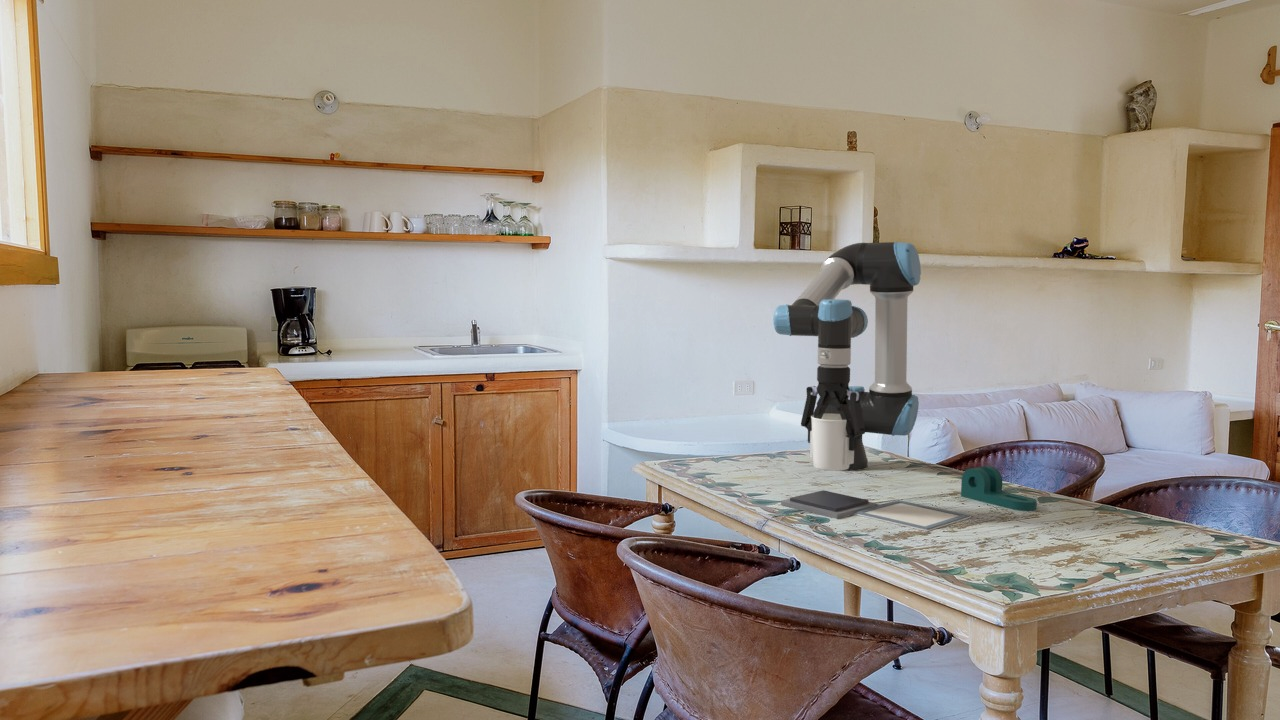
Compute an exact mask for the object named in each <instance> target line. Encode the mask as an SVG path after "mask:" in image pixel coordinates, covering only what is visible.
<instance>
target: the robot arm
mask: <svg viewBox="0 0 1280 720" xmlns="http://www.w3.org/2000/svg"><path fill="white" fill-rule="evenodd" d="M820 265H821V266H820V269H819V273H818V274H817V275H816V276H815V277H814V278H813V279H812V281H811V282H810V284H809V285H807V287H806V288H805V289H804V291H803V292H801V294H800V295H799V296H798V297H797V298H796V300H795V301H794V302H793V303H792V304H782V305H780V304H779V305H777V307H776V308H775V310H774V314H773V328H774V330H775V332H776V333H777V334H778V335H782V336H790V337H791V336H796V337H797V336H798V337H803V336H804V337H817V338H818V340H817V343H818V344H817V364H818V366H817V368H816V370H817V371H816V379H817V380H816V381H817V382H818V383H817V386H815V385H812V386H807V387H806V399H805V403H804V408H803V413H802V418H801V421H800V426H801V427H804V428H805V429H807V443H808V444H809V458H810V459H813V451H812V423H811V416H812V415H814V418H817V419H821V418H822V416H823V414H827V413H828V414H840V416H841V418H842V420H847V422H846V431H847V434H848V435H847V436H846V437H845V450H844V465H849V468H848V469H846V470H845V471H860V470H865V469H867V468H868V464H869V463H868V456H867V453H866V450H865V447H864V443H863V435H864V434H866V433H867V434H868V433H869V434H870V433H871V434H879V435H890V436H892V437H893V436H908V435H909V434H910V433H911V432H912V431H913V429H914V427H915V424H916V420H917V417H918V414H919V413H918V412H919V397H918V395H915V394H913V388H912V386H911V385H910V384H909V383H908V382H907V371H908V370H907V367H908V366H907V364H908V362H907V361H908V359H907V358H908V356H907V355H908V352H907V351H908V299H909V297H910V295H912V293H914V286H918V285H919V284H920V281H921V274H922V271H921V270H922V269H921V260H920V256H919V252H918V249H917V248H916V246H915V245H914V244H913V243H911V242H901V241H890V242H887V241H886V242H857V243H852V244H849V245H847V246H844V247H842V248H840V249H838V250H836V251H835V252H833V253H832V254H831V255H830V256H829V257H827V258H826V259H825V260H824V261H823V263H822V264H820ZM852 285H853V286H854V285H866V286H867V285H868V286H869V292H870V293H871V295H872V296H874V298H875V300H874V301H875V305H874V306H875V312H874V313H875V316H874V317H875V318H874V319H875V320H874V323H875V326H874V328H875V330H874V337H875V339H874V381H873V383H872V384H870V386H869V388H868V389H869V391H865V387H864V386H862V385H861V386H860V385H852V386H849V384H850V382H851V368H850V366H849V365H851V356H852V350H851V349H852V348H851V347H852V338H856V337H858V336H860V335H862V334H863V333H864V332H865V331H866V329H867V327H868V324H869V319H868V316H867V313H866V312H865V311H864V310H863V308H861V307H859V306H855V305H852V304H853V302H852V301H851V300H850V299H839V298H837V297H838V295H839V294H840V292H841V291H842V290H846V289H848V288H849V287H850V286H852ZM836 298H837V299H836ZM818 395H819V398H818ZM817 399H818V400H817Z"/></svg>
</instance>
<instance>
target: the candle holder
mask: <svg viewBox="0 0 1280 720" xmlns="http://www.w3.org/2000/svg"><path fill="white" fill-rule="evenodd" d="M846 422H847V420H842V418H841V416H840V414H828V413H827V414H823V416H822V418H821V419H817V418H814V415H812V416H811V423H812V451H813V458H812V465H813V467H814V468H815V469H817V470H821V471H830V472H833V471H835V472H837V471H838V472H839V471H847V470H846V469H848V468H849V465H844V450H845V437H846V436H847V435H848V434H847V431H846Z"/></svg>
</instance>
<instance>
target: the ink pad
mask: <svg viewBox="0 0 1280 720" xmlns="http://www.w3.org/2000/svg"><path fill="white" fill-rule="evenodd" d="M780 506H783V507H787V508H792V509H796V510H799V511H804V512H809V513H812V514H817V515H820V516H824V517H829V518H832V519H841V518H844V517H849V516H852V515H855V514H854V513H855V512H856V511H860V510H864V509H868V508H871V507H875V506H878V503H877V502H872V501H870V500H869V499H865V498H859V497H856V496H853V495H852V496H851V495H847V494H842V493H838V492H833V491H829V490H819V491H815V492H811V493H809V492H808V493H805V494H800V495H797V496H796V495H795V496H793V497H792V496H791V497H790V498H788V499H783V500H780Z"/></svg>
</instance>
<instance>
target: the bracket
mask: <svg viewBox="0 0 1280 720" xmlns="http://www.w3.org/2000/svg"><path fill="white" fill-rule="evenodd" d="M960 490H961V491H960V497H962V498H966V499H969V500H972V501H977V502H982V503H986V504H990V505H994V506H997V507H1001V508H1006V509H1010V510H1013V511H1020V512H1021V511H1022V512H1033V511H1036V510H1037V506H1038V505H1037V502H1038V500H1037V499H1036V498H1033V497H1029V496H1024V495H1020V494H1016V493H1012V492H1008V491H1003V476H1002V474H1001V472H1000V471H999V469H998V468H996V467H994V466H992V465H987V466H980V467H972V468H967V469H966V470H965V471H964V472H963V473H962V476H961V487H960Z"/></svg>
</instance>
